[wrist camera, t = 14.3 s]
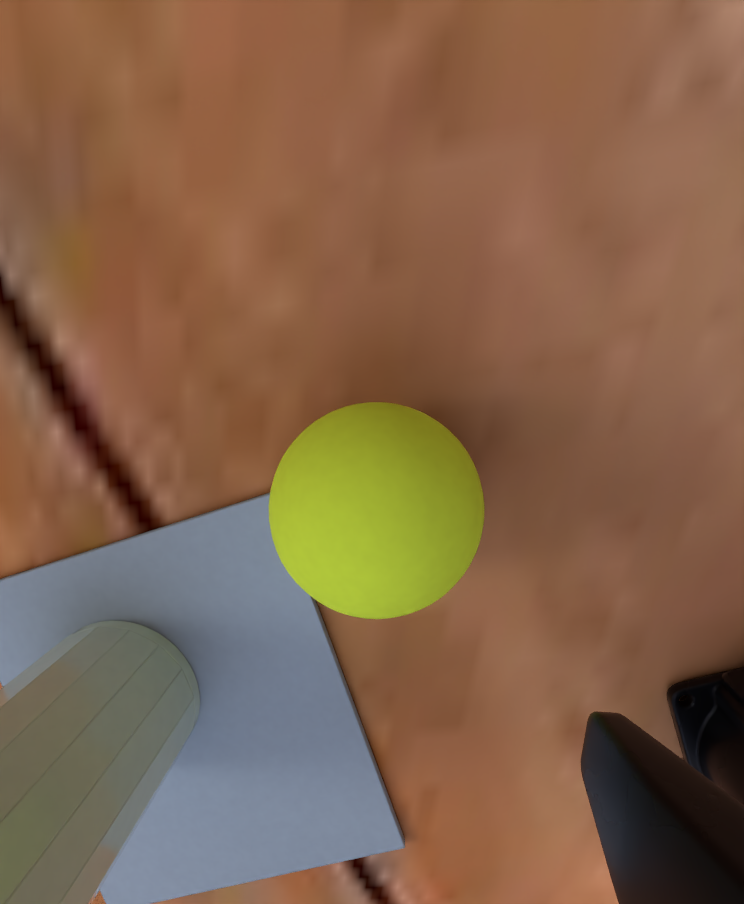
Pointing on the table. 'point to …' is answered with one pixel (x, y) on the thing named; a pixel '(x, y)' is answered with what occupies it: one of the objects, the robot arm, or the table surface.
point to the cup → (86, 756)
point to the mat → (222, 704)
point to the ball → (376, 510)
